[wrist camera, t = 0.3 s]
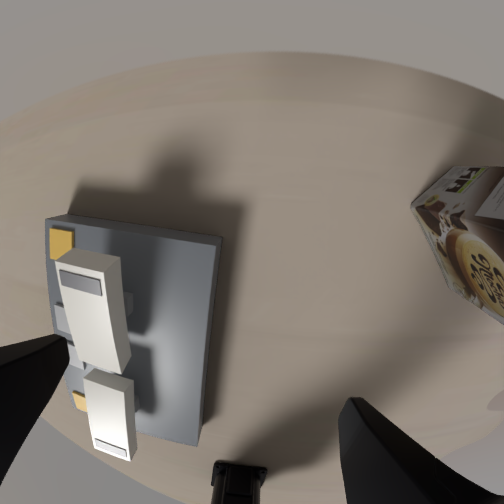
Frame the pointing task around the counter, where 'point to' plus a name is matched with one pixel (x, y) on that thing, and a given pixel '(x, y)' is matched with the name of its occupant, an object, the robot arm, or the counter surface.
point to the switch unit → (148, 316)
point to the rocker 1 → (95, 307)
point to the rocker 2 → (111, 413)
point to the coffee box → (468, 233)
